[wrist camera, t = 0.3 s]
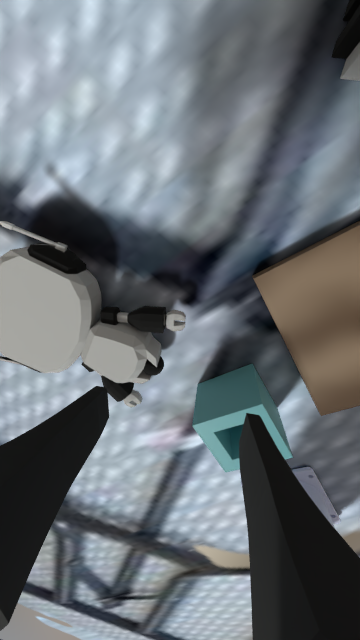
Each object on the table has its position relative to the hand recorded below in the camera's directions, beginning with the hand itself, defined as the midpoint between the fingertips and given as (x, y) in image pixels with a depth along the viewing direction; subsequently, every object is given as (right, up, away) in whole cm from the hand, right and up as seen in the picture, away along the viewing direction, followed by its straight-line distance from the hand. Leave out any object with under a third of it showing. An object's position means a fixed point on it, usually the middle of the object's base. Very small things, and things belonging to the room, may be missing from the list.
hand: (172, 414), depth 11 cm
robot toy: (-7, +5, +10) cm, 13 cm away
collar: (+6, -3, +10) cm, 12 cm away
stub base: (+15, +5, +5) cm, 16 cm away
